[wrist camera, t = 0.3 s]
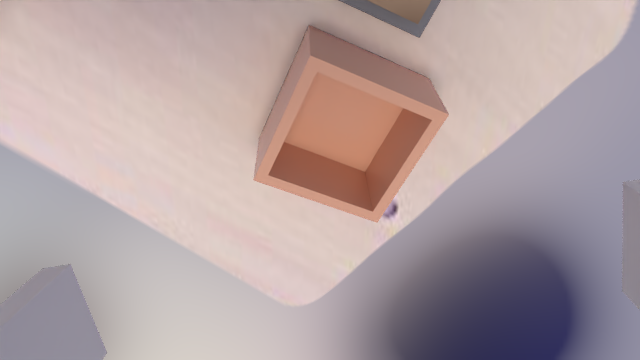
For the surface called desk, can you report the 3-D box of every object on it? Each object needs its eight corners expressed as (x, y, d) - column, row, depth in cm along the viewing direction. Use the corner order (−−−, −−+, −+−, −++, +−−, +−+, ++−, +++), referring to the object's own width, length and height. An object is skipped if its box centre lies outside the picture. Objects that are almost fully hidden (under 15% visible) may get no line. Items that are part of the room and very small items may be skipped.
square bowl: (308, 25, 34) (310, 55, 30) (429, 78, 37) (449, 114, 32) (259, 138, 40) (253, 180, 35) (368, 178, 42) (377, 222, 37)
